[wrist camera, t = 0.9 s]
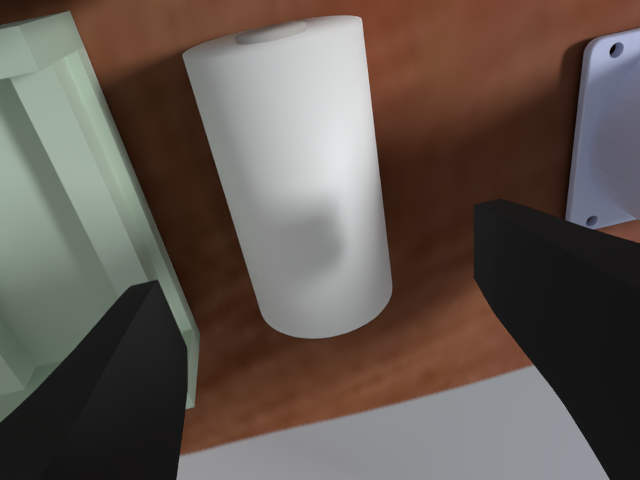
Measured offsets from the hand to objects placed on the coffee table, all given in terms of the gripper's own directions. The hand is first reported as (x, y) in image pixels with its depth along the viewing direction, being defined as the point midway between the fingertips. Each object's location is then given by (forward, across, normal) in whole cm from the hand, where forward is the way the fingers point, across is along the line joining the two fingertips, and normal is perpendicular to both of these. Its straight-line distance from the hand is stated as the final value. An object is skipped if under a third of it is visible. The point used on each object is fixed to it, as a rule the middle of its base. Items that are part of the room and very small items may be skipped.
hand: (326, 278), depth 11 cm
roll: (+6, 0, 0) cm, 6 cm away
